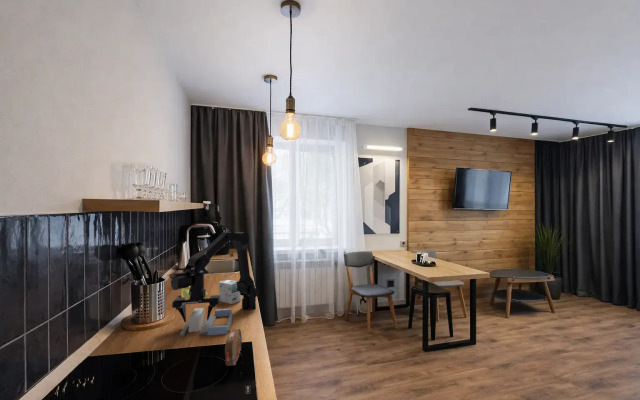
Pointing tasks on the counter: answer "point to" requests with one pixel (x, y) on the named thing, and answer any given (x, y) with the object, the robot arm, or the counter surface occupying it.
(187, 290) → the plastic component
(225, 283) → the light bulb box
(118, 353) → the counter surface
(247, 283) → the robot arm
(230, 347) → the tin
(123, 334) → the counter surface
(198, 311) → the white rectangular prism
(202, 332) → the grey long bars
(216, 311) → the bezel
